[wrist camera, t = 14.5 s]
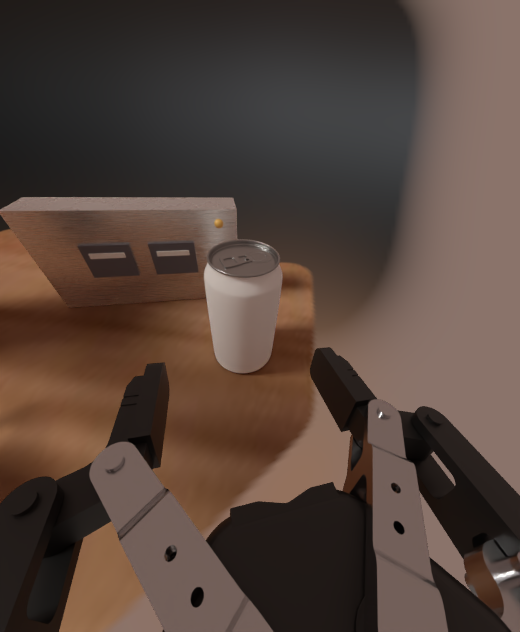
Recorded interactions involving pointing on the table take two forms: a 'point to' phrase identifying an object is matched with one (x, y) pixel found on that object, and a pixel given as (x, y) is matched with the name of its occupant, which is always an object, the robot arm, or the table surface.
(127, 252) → the psu panel
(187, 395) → the table surface
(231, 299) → the can
